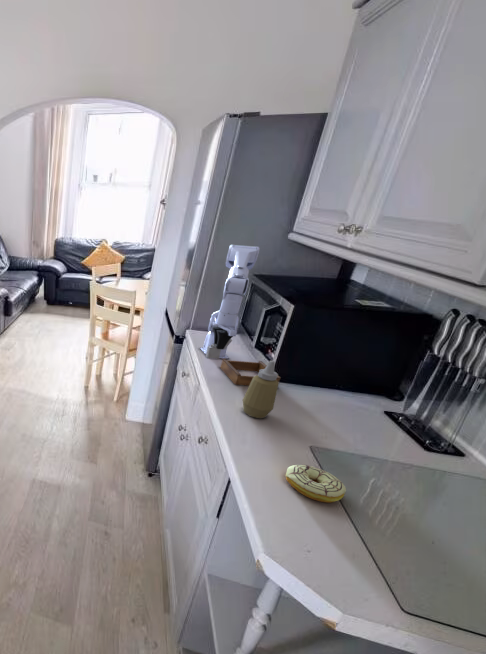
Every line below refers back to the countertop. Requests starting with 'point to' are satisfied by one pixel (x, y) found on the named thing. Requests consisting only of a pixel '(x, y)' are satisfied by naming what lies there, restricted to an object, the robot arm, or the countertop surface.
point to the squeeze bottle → (261, 392)
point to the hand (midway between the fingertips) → (218, 347)
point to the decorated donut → (315, 483)
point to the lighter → (215, 351)
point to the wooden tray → (233, 366)
